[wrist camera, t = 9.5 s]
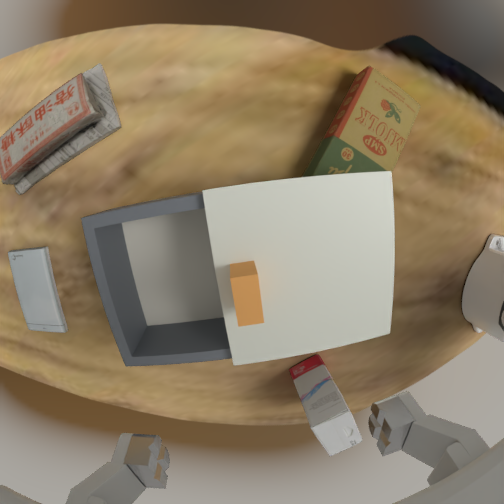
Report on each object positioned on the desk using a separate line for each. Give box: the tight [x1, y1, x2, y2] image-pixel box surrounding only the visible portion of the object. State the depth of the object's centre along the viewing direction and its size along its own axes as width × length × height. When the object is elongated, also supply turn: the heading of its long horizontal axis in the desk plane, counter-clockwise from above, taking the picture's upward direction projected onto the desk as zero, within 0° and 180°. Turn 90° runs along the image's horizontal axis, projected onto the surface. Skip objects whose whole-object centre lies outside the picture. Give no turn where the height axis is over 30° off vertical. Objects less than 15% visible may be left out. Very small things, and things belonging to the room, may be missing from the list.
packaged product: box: [0, 63, 121, 195], centre depth 25 cm, size 18×5×10 cm
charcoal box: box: [81, 192, 232, 366], centre depth 29 cm, size 16×16×8 cm
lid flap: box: [202, 171, 395, 366], centre depth 23 cm, size 17×17×4 cm
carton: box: [302, 66, 420, 177], centre depth 29 cm, size 8×16×4 cm, turn 153°
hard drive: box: [8, 247, 68, 333], centre depth 32 cm, size 2×8×12 cm
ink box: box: [289, 355, 362, 456], centre depth 33 cm, size 9×5×12 cm, turn 27°
